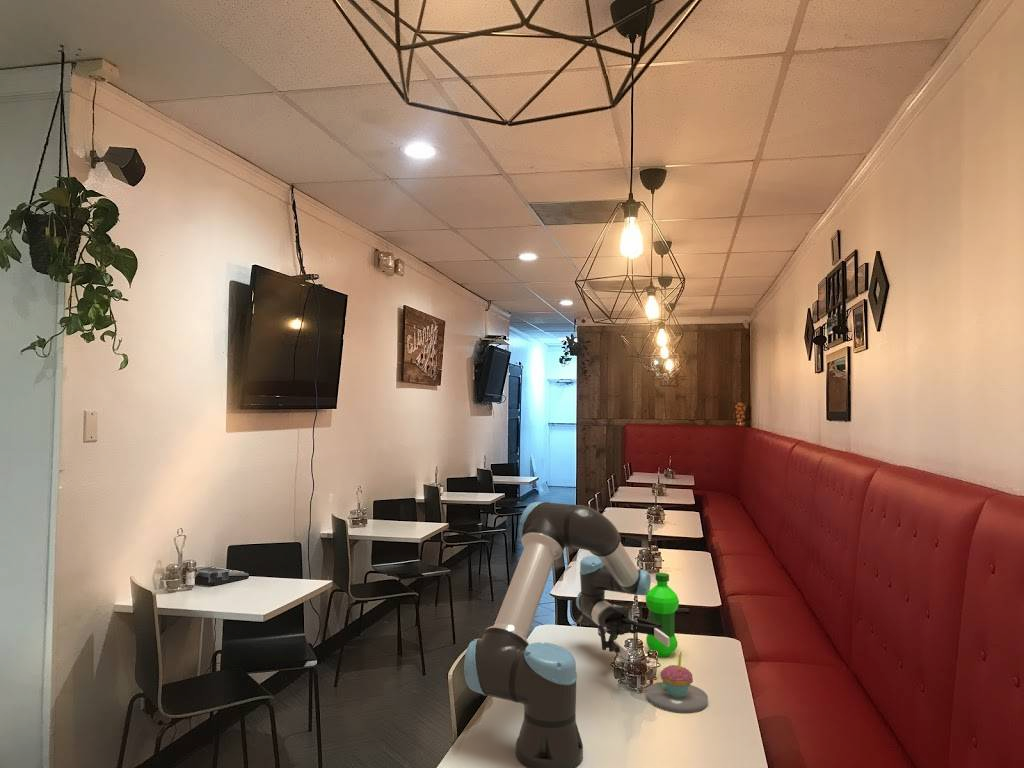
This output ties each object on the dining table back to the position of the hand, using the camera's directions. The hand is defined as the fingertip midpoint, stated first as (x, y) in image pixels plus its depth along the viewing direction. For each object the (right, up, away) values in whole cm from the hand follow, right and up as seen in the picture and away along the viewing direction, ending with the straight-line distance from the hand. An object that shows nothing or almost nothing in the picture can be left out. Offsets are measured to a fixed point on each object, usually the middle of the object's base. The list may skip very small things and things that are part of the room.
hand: (648, 648), depth 190 cm
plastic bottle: (+10, -12, +27) cm, 31 cm away
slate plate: (+6, -11, -6) cm, 14 cm away
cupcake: (+6, -10, -6) cm, 13 cm away
